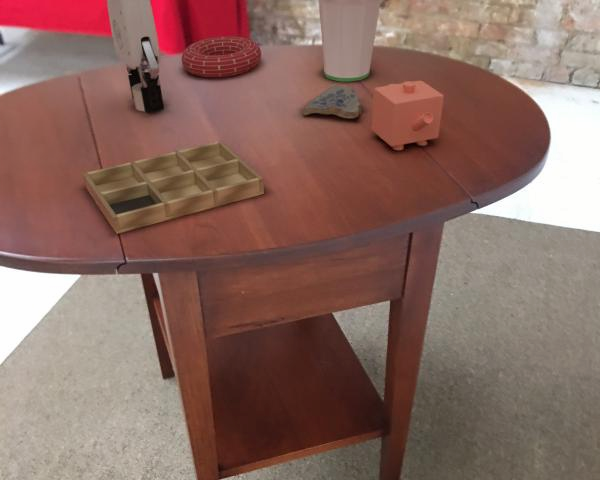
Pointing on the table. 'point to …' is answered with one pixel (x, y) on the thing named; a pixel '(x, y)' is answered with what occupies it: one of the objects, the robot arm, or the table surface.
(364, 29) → the cup
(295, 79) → the table surface
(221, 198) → the compartment tray
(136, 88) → the grey squat cylinder
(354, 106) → the ceramic fragment
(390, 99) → the pink cube teapot
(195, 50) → the torus
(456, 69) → the table surface
